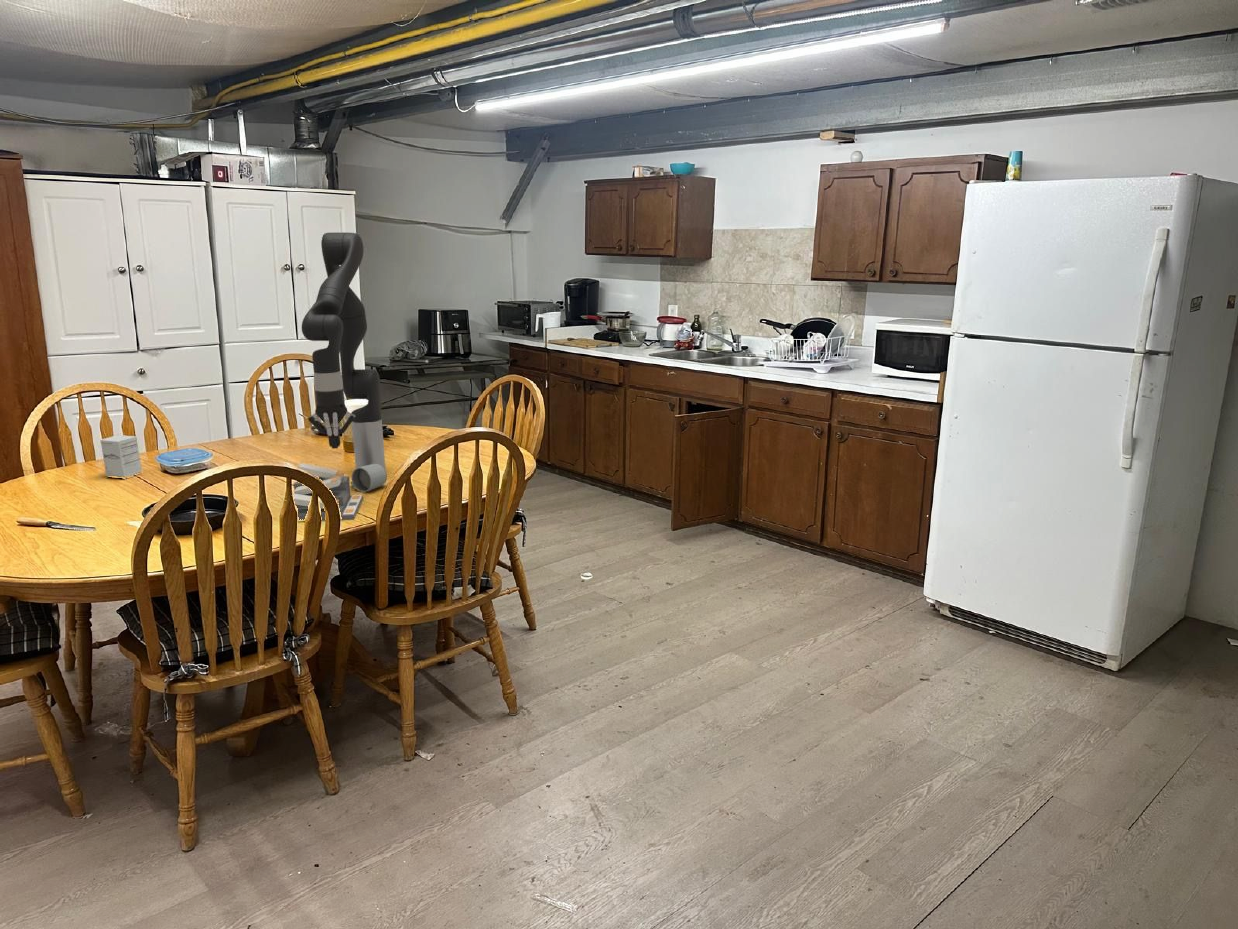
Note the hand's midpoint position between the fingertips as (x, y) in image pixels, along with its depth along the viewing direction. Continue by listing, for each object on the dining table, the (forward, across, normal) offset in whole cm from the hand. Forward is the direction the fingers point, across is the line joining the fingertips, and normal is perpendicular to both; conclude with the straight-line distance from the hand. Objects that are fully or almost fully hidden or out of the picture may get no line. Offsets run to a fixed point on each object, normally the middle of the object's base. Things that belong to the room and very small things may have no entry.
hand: (335, 447), depth 241 cm
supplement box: (+17, +73, -38) cm, 84 cm away
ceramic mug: (+17, -6, -13) cm, 22 cm away
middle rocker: (+9, +4, +6) cm, 12 cm away
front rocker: (+12, +4, +12) cm, 18 cm away
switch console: (+16, +3, +6) cm, 18 cm away
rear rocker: (+7, +4, 0) cm, 8 cm away
